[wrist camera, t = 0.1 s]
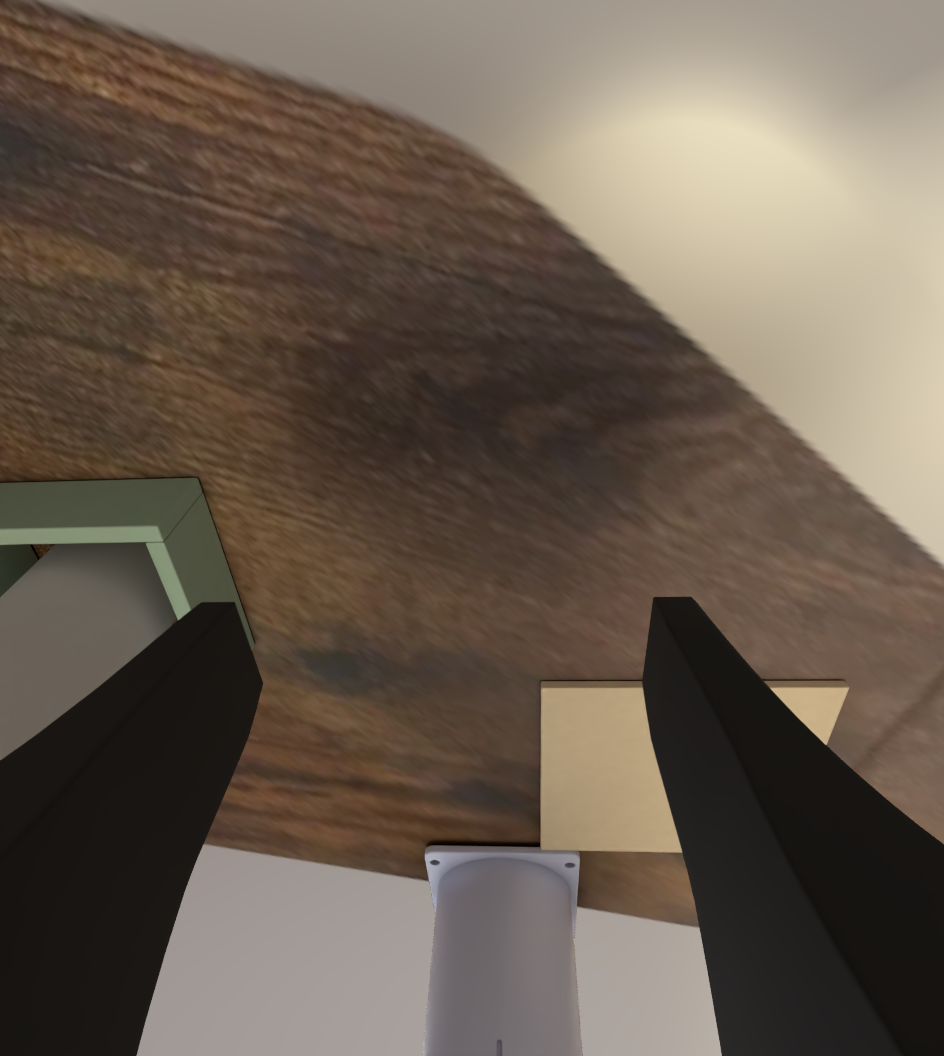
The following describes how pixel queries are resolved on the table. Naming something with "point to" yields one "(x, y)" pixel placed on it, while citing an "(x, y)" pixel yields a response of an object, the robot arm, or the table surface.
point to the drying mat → (627, 762)
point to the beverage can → (73, 630)
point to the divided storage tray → (122, 531)
